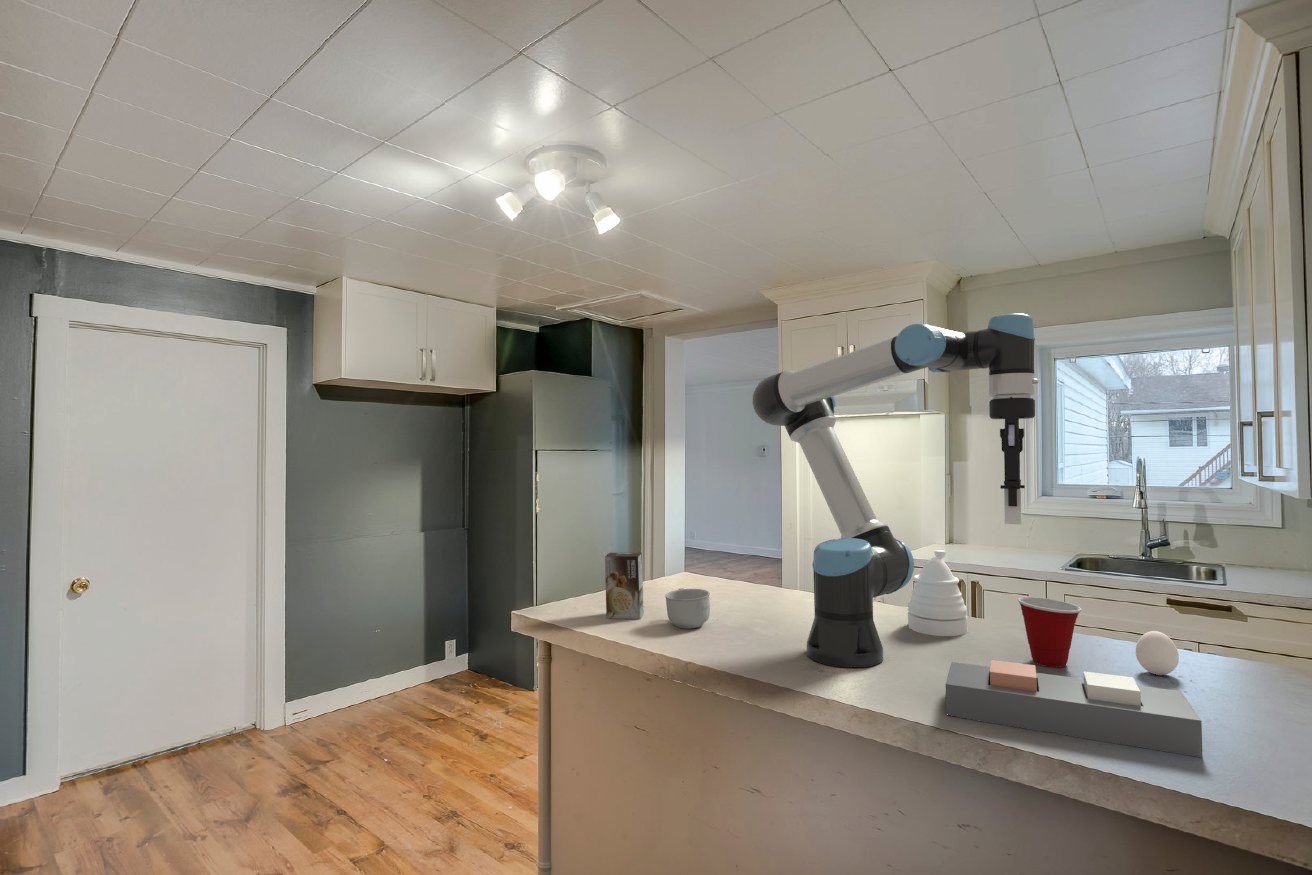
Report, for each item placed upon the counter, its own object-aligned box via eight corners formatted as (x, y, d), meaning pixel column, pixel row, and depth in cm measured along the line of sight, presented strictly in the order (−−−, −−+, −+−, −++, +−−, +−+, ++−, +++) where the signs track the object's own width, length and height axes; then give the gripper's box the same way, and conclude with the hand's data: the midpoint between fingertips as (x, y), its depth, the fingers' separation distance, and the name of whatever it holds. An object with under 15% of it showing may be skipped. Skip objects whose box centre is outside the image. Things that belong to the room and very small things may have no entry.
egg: (1127, 669, 124) (1126, 627, 124) (1158, 667, 125) (1157, 626, 125) (1156, 681, 118) (1154, 636, 118) (1188, 679, 118) (1187, 635, 118)
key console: (946, 715, 104) (945, 683, 104) (952, 690, 115) (951, 661, 115) (1202, 757, 89) (1201, 720, 89) (1182, 724, 100) (1181, 691, 100)
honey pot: (926, 618, 163) (924, 546, 163) (978, 629, 153) (976, 551, 153) (897, 627, 155) (895, 551, 155) (950, 639, 145) (948, 558, 145)
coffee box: (644, 613, 172) (643, 552, 173) (640, 619, 166) (639, 556, 166) (610, 612, 174) (609, 551, 174) (605, 618, 167) (604, 555, 168)
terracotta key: (990, 696, 104) (990, 671, 104) (991, 683, 109) (991, 659, 109) (1037, 703, 101) (1036, 677, 101) (1035, 690, 106) (1035, 665, 106)
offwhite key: (1088, 711, 98) (1087, 684, 98) (1084, 696, 103) (1083, 671, 103) (1141, 719, 94) (1140, 691, 95) (1133, 703, 100) (1133, 677, 100)
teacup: (711, 631, 154) (711, 597, 154) (665, 632, 154) (665, 598, 155) (707, 616, 168) (707, 585, 168) (665, 616, 168) (665, 585, 168)
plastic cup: (1094, 673, 122) (1092, 609, 122) (1030, 670, 124) (1028, 607, 124) (1069, 655, 132) (1067, 596, 133) (1011, 653, 135) (1010, 594, 135)
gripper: (1034, 394, 115) (1036, 528, 115) (1034, 398, 126) (1035, 520, 126) (987, 396, 119) (988, 526, 119) (991, 400, 130) (992, 518, 130)
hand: (1012, 523), depth 122 cm, fingers closed
